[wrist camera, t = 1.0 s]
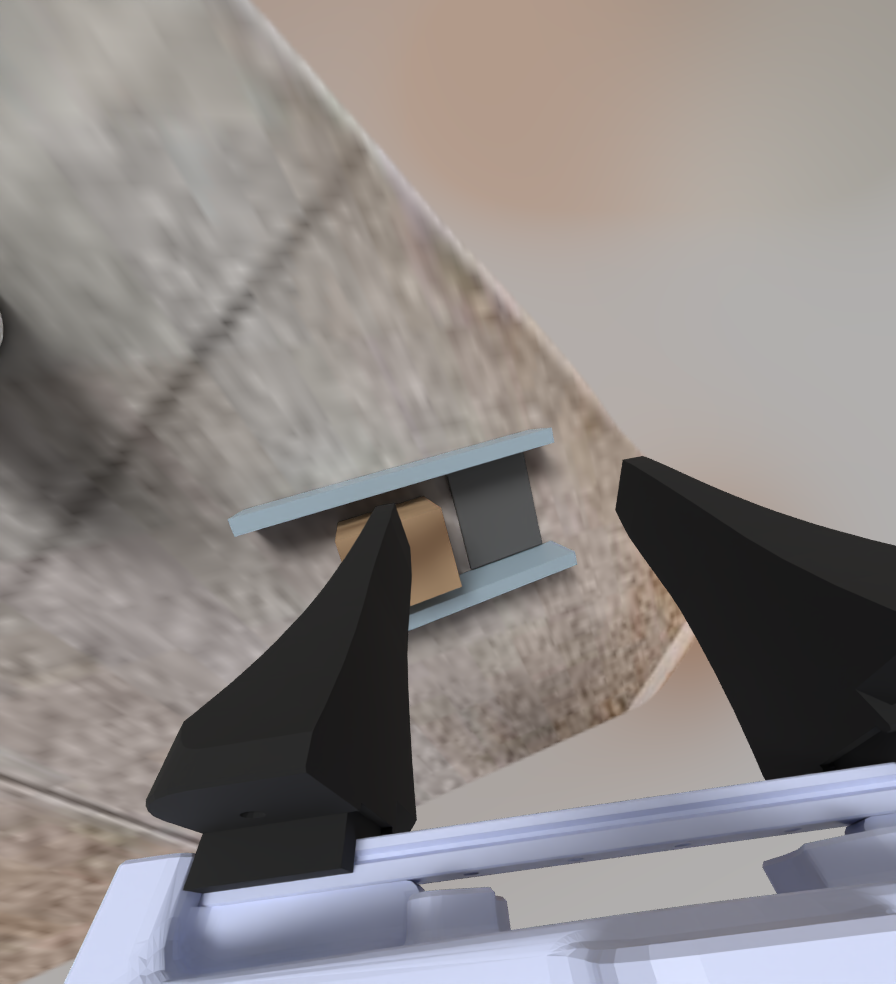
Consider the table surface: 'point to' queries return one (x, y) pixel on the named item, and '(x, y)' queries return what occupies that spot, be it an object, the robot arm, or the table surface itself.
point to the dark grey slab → (495, 509)
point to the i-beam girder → (474, 582)
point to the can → (1, 329)
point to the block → (415, 547)
